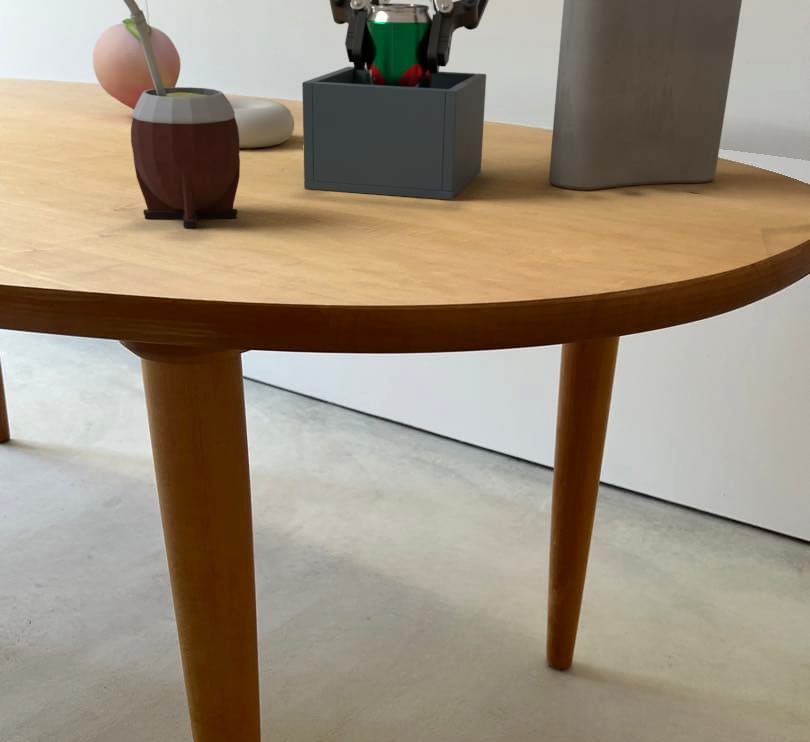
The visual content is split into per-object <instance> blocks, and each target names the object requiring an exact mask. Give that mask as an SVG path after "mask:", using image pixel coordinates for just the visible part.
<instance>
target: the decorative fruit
mask: <svg viewBox="0 0 810 742" xmlns="http://www.w3.org/2000/svg"><path fill="white" fill-rule="evenodd" d="M121 22H122V23H118V24H114V25H111V26H109V27H108V28H107V29H105V30H103V32H102V33H101V34H100V35H99V36H98V38H97V40H96V42H95V44H94V47H93V52H92V66H93V71H94V74H95V77H96V79H97V81H98V83H99V84H100V86H101V88H102V89H103V90H104V91H105V93H107V94H108V95H109V96H110V97H112V98H113V99H115V100H117V102H120V103H121V104H123V105H124V106H126V107H128V108H130V109H132V111H134V109H135V107H136V105H137V102H138V100H139V99H140V97H141V95H142V93H143V92H144V91H146V90H150V89H155V86H154V83H153V80H152V76H151V73H150V70H149V67H148V63H147V60H146V57H145V53H144V50H143V47H142V43H141V40H140V37H139V34H138V31H137V30H135V28H134V25H133V22H132V20H131V18H125V19H123V20H122V21H121ZM147 25H148V26H147V32H148V35H149V39H150V42H151V46H152V49H153V52H154V56H155V59H156V63H157V66H158V69H159V73H160V76H161V79H162V82H163V86H164V88H172V87H177V83H178V81H179V77H180V73H181V57H180V53H179V52H178V49H177V48H176V46H175V44H174V42H173V41H172V40H171V38H170V37H169V36H168V35H167V34H166V32H164V31H162V30H160V29H159V28H157V27H154V26H151V25H150V24H148V23H147Z"/></svg>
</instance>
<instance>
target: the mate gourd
mask: <svg viewBox="0 0 810 742" xmlns="http://www.w3.org/2000/svg"><path fill="white" fill-rule="evenodd" d="M122 1H123V2H124V4H125V5H126V6H127V8H128V10H129V12H130V15H129V16H130V19H131V20H132V22H133V25H134V28H135V30H137V31H138V34H139V37H140V40H141V43H142V47H143V50H144V53H145V57H146V60H147V63H148V67H149V70H150V73H151V76H152V80H153V83H154V86H155V89H150V90H146V91H144V92H143V93H142V95H141V97H140V99H139V100H138V102H137V105H136V107H135V109H134V110H132V113H131V116H132V120H131V126H130V144H131V149H132V155H133V165H134V170H135V176H136V180H137V183H138V185H139V189H140V191H141V193H142V196H143V199H144V203H145V206H146V208H147V209H143V211H142V213H143V215H144V219H146V220H154V219H155V220H158V219H159V220H161V219H162V220H164V219H165V220H171V219H172V220H174V219H175V220H176V219H177V220H179V219H180V220H182V222H183V228H185V229H194V228H196V227H197V223H198V220H199V219H237V218H238V209H237V208H234V205H235V199H236V195H237V191H238V186H239V181H240V175H241V174H240V173H241V171H240V169H241V159H240V148H239V133H238V126H237V122H236V119H235V112H234V110H233V108H232V106H231V104H230V102H229V101H228V97H227V96H226V95H225V94H224V93H223V92H222V91H221V90H218V89H214V88H206V87H192V86H191V87H190V86H189V87H187V86H186V87H185V86H184V87H183V86H182V87H181V86H180V87H179V86H175V87H172V88H164V86H163V82H162V79H161V76H160V73H159V69H158V66H157V63H156V59H155V56H154V52H153V49H152V46H151V42H150V39H149V35H148V32H147V26H148V25H149V24H148V23H147V20H146V17H145V14H144V11H143V10H142V9H140V7H139V5H138V3H137V2H136V1H135V0H122ZM147 24H148V25H147Z"/></svg>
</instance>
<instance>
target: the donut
mask: <svg viewBox="0 0 810 742" xmlns="http://www.w3.org/2000/svg"><path fill="white" fill-rule="evenodd" d="M227 99H228V101H229V102H230V104H231V106H232V108H233V110H234V112H235V119H236V122H237V126H238V133H239V149H255V148H266V147H273V146H277V145H281V144H283V143H284V142H286V141H288V139H289V138H290V137H291V136H292V135H293V132H294V131H295V119H294V116H293V114H292V111H291V110H290V108H289V107H287V106H286V105H285V104H283V103H281V102H278V101H275V100H268V99H261V98H246V97H244V98H243V97H241V98H240V97H239V98H238V97H237V98H236V97H230V98H228V97H227Z"/></svg>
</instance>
